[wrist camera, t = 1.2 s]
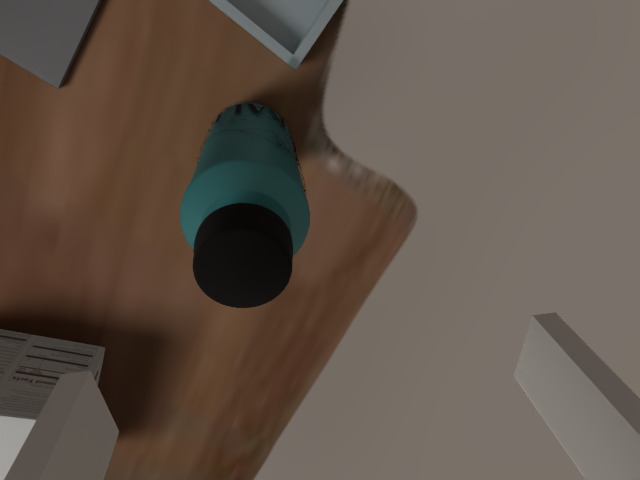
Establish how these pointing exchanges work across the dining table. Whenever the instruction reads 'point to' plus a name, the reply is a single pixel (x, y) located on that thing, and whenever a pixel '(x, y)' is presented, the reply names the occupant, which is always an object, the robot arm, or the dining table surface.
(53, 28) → the slate coaster
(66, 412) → the robot arm
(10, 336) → the supplement box
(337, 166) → the dining table surface
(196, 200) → the beverage bottle
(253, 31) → the bin
